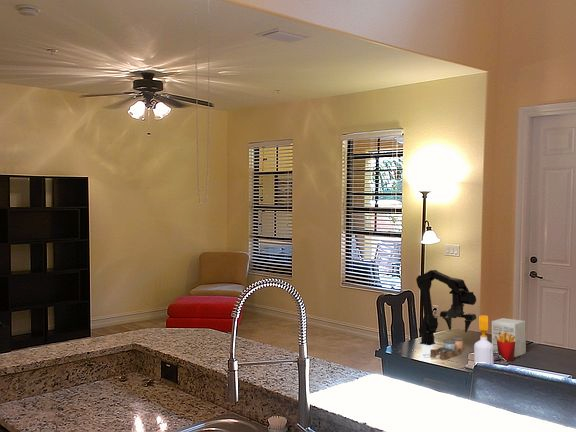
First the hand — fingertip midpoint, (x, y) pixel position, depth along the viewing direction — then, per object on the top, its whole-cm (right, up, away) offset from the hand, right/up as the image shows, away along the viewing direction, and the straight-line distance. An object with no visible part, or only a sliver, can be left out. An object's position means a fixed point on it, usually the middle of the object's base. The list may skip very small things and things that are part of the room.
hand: (457, 331), depth 316 cm
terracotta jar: (0, -11, 0) cm, 11 cm away
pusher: (-11, -11, -11) cm, 19 cm away
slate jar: (-6, -11, -6) cm, 14 cm away
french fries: (+18, -11, -22) cm, 30 cm away
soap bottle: (+4, -11, -30) cm, 32 cm away
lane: (-9, -11, -9) cm, 17 cm away
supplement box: (+26, -11, -5) cm, 28 cm away
